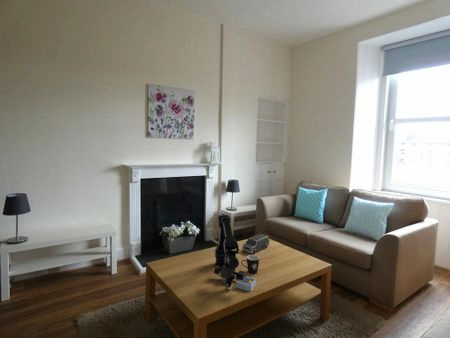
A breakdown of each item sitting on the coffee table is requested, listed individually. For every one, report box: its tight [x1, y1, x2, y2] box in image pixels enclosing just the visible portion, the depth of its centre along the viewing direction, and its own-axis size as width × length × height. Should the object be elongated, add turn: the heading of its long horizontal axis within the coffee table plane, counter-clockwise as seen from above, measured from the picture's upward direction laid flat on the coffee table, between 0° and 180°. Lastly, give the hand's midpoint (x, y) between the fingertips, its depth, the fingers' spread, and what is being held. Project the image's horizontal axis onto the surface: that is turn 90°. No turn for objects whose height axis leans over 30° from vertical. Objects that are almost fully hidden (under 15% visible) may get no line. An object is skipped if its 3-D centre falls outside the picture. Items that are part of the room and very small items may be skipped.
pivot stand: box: [221, 278, 228, 285], centre depth 171 cm, size 3×8×5 cm, turn 153°
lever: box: [212, 270, 240, 290], centre depth 168 cm, size 16×13×3 cm
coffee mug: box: [240, 254, 260, 275], centre depth 184 cm, size 12×9×10 cm
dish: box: [235, 275, 257, 292], centre depth 166 cm, size 9×9×4 cm
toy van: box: [241, 233, 270, 255], centre depth 224 cm, size 11×25×10 cm, turn 137°
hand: (229, 286), depth 162 cm, fingers closed
